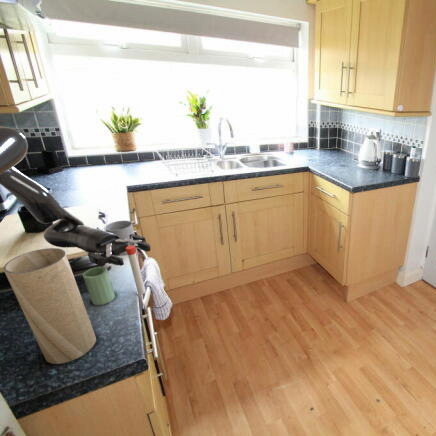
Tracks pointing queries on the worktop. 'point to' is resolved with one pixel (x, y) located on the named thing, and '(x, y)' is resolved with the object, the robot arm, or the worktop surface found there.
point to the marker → (135, 269)
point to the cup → (121, 230)
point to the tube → (51, 303)
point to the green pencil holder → (99, 285)
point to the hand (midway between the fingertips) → (136, 255)
